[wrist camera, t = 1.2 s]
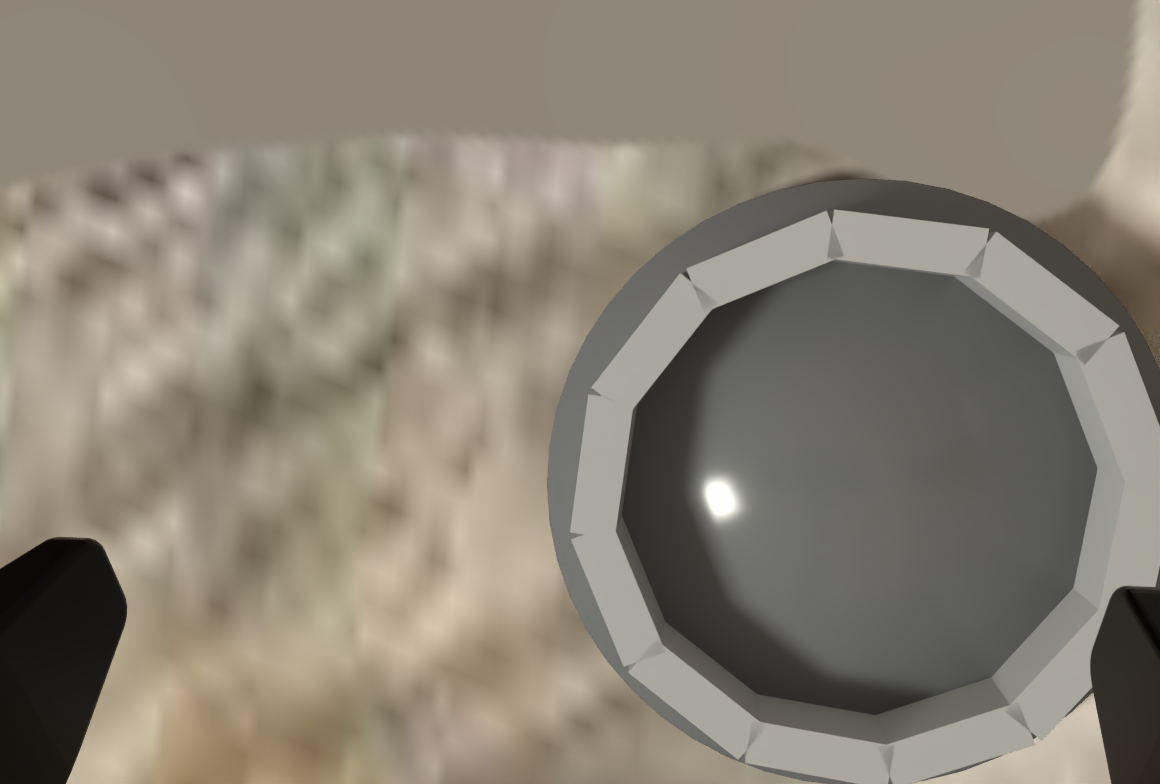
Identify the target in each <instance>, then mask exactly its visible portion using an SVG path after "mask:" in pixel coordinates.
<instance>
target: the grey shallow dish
mask: <svg viewBox="0 0 1160 784" xmlns="http://www.w3.org/2000/svg"><path fill="white" fill-rule="evenodd" d="M547 490H548V504H549V519H550V526H551V531H552V536H553V541H554V546H555V551H556V556H557V560H558V563H559V566H560V569H561V572H562V575H563V578H564V581H565V584H566V587H567V590H568V593H569V595H570V598H571V600H572V602H573V604H574V606H575V608H576V610H577V612H578V614H579V616H580V618H581V620H582V622H583V624H584V626H585V628H586V630H587V631H588V633H589V634H590V636H591V637H592V639H593V640H594V642H595V643H596V645H597V646H598V648H599V649H600V651H601V653H602V654H603V656H604V657H605V659H606V660H607V662H608V663H609V664H610V665H611V666H612V667H613V669H614V670H615V671H616V672H617V673H618V674H619V675H620V677H621V678H622V679H623V680H624V681H625V682H626V684H627V685H628V686H629V687H630V688H631V689H632V690H633V691H634V692H635V693H636V694H637V695H638V696H639V697H640V698H641V699H642V700H644V701H645V702H646V703H647V704H648V705H649V706H650V707H651V708H652V709H654V710H655V711H656V712H657V713H658V714H659V715H660V716H661V717H663V718H664V719H666V720H667V721H669V722H670V723H671V724H673V725H674V726H676V727H677V728H679V729H680V730H681V731H683V732H684V733H686V734H687V735H689V736H690V737H691V738H693V739H695V740H697V741H698V742H700V743H702V744H704V745H706V746H708V747H710V748H712V749H714V750H715V751H717V752H719V753H721V754H723V755H725V756H727V757H729V758H732V759H734V760H737V761H740V762H742V763H745V764H747V765H750V766H753V767H755V768H758V769H760V770H763V771H766V772H770V773H774V774H778V775H782V776H786V777H790V778H794V779H798V780H802V781H810V782H818V783H826V784H911V783H915V782H918V781H924V780H928V779H932V778H936V777H940V776H944V775H948V774H952V773H957V772H961V771H964V770H966V769H969V768H972V767H974V766H977V765H979V764H982V763H985V762H987V761H990V760H993V759H995V758H998V757H1000V756H1002V755H1004V754H1007V753H1010V752H1013V751H1017V750H1020V749H1023V748H1026V747H1029V746H1033V745H1035V743H1034V740H1033V739H1034V738H1036V737H1038V738H1039V739H1040V740H1043V739H1044V738H1045V737H1046V736H1047V735H1048V733H1049V732H1050V731H1051V730H1052V729H1053V728H1054V727H1055V726H1056V725H1057V724H1058V723H1059V722H1060V721H1061V720H1062V719H1063V718H1064V717H1066V716H1067V715H1068V714H1070V713H1071V712H1072V711H1073V710H1074V709H1075V708H1076V707H1077V706H1078V705H1079V704H1080V703H1082V702H1083V701H1084V700H1085V699H1086V698H1087V697H1088V696H1089V695H1090V694H1091V693H1092V692H1093V687H1092V682H1091V675H1090V658H1091V652H1092V648H1093V645H1094V642H1095V640H1096V637H1097V634H1098V631H1099V628H1100V625H1101V623H1102V620H1103V617H1104V614H1105V611H1106V608H1107V606H1108V603H1109V600H1110V598H1111V596H1112V594H1113V592H1114V591H1115V590H1116V589H1117V588H1119V587H1122V586H1143V587H1160V370H1159V368H1158V366H1157V364H1156V362H1155V359H1154V357H1153V355H1152V353H1151V351H1150V349H1149V346H1148V344H1147V342H1146V340H1145V339H1144V337H1143V335H1142V334H1141V332H1140V331H1139V329H1138V328H1137V326H1136V325H1135V323H1134V321H1133V320H1132V318H1131V317H1130V315H1129V314H1128V312H1127V310H1126V309H1125V307H1124V306H1123V305H1122V303H1121V302H1120V301H1119V300H1118V299H1117V298H1116V296H1115V295H1114V294H1113V293H1112V292H1111V291H1110V289H1109V288H1108V287H1107V286H1106V285H1105V284H1104V282H1103V281H1102V280H1101V279H1100V278H1099V277H1098V275H1097V274H1096V273H1095V272H1094V271H1092V270H1091V269H1090V268H1089V267H1088V266H1087V265H1086V264H1085V263H1083V262H1082V261H1081V260H1080V259H1079V258H1078V257H1077V256H1075V255H1074V254H1073V253H1072V252H1071V251H1070V250H1069V249H1067V248H1066V247H1065V246H1064V245H1063V244H1061V243H1060V242H1058V241H1057V240H1055V239H1054V238H1052V237H1051V236H1049V235H1048V234H1046V233H1045V232H1043V231H1042V230H1040V229H1039V228H1037V227H1036V226H1034V225H1033V224H1031V223H1030V222H1028V221H1026V220H1024V219H1022V218H1020V217H1018V216H1016V215H1014V214H1012V213H1010V212H1008V211H1005V210H1003V209H1001V208H999V207H997V206H995V205H993V204H991V203H989V202H986V201H983V200H980V199H977V198H974V197H971V196H967V195H964V194H962V193H958V192H955V191H952V190H949V189H945V188H940V187H934V186H929V185H924V184H918V183H913V182H908V181H896V180H878V179H851V180H838V181H824V182H816V183H812V184H807V185H802V186H797V187H792V188H788V189H783V190H778V191H775V192H772V193H769V194H766V195H763V196H760V197H758V198H755V199H752V200H749V201H746V202H743V203H740V204H738V205H736V206H734V207H731V208H729V209H727V210H725V211H723V212H721V213H719V214H717V215H715V216H713V217H711V218H709V219H707V220H705V221H703V222H701V223H700V224H698V225H697V226H695V227H694V228H692V229H691V230H689V231H688V232H686V233H685V234H683V235H682V236H680V237H679V238H677V239H676V240H674V241H673V242H671V243H670V244H668V245H667V246H666V247H664V248H663V249H662V250H661V251H660V252H659V253H658V254H656V255H655V256H654V257H653V258H652V259H651V260H650V261H648V262H647V263H646V264H645V265H644V266H643V267H642V268H641V269H639V270H638V271H637V272H636V273H635V274H634V275H633V276H632V277H631V279H630V280H629V281H628V282H627V283H626V284H625V285H624V287H623V288H622V289H621V290H620V291H619V292H618V293H617V295H616V296H615V297H614V298H613V299H612V300H611V301H610V303H609V304H608V305H607V307H606V308H605V310H604V311H603V313H602V314H601V316H600V317H599V319H598V320H597V322H596V323H595V325H594V326H593V328H592V329H591V331H590V332H589V334H588V335H587V337H586V339H585V341H584V343H583V345H582V347H581V349H580V351H579V353H578V355H577V357H576V359H575V361H574V363H573V365H572V367H571V369H570V371H569V374H568V377H567V380H566V383H565V386H564V389H563V392H562V395H561V398H560V401H559V404H558V407H557V411H556V416H555V421H554V426H553V431H552V436H551V441H550V447H549V462H548V478H547Z"/></svg>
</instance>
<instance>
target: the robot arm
mask: <svg viewBox="0 0 1160 784" xmlns="http://www.w3.org/2000/svg"><path fill="white" fill-rule="evenodd" d="M126 617H127V603H126V598H125V595H124V593H123V590H122V588H121V586H120V584H119V581H118V579H117V577H116V575H115V572H114V570H113V568H112V565H111V563H110V561H109V559H108V556H107V554H106V552H105V550H104V548H103V546H102V545H101V544H100V543H98V542H97V541H96V540H94V539H91V538H73V537H55V538H51V539H48V540H46V541H44V542H43V543H41V544H39V545H38V546H36V547H35V548H33V549H31V550H30V551H28V552H27V553H25V554H23V555H22V556H20V557H18V558H17V559H15V560H14V561H12V562H10V563H9V564H7V565H6V566H4V567H2V568H1V569H0V784H66V782H67V780H68V778H69V775H70V773H71V771H72V768H73V766H74V763H75V761H76V758H77V756H78V753H79V751H80V748H81V745H82V743H83V740H84V737H85V734H86V732H87V729H88V726H89V723H90V720H91V718H92V715H93V712H94V709H95V707H96V704H97V701H98V698H99V695H100V693H101V690H102V687H103V684H104V682H105V679H106V676H107V673H108V671H109V668H110V665H111V662H112V659H113V657H114V654H115V651H116V648H117V646H118V643H119V640H120V637H121V635H122V632H123V629H124V626H125V622H126ZM1090 675H1091V682H1092V687H1093V692H1094V697H1095V702H1096V708H1097V713H1098V718H1099V723H1100V728H1101V733H1102V738H1103V743H1104V748H1105V754H1106V759H1107V764H1108V769H1109V774H1110V779H1111V784H1160V587H1143V586H1122V587H1119V588H1117V589H1116V590H1115V591H1114V592H1113V594H1112V596H1111V598H1110V600H1109V603H1108V606H1107V608H1106V611H1105V614H1104V617H1103V620H1102V623H1101V625H1100V628H1099V631H1098V634H1097V637H1096V640H1095V642H1094V645H1093V648H1092V652H1091V658H1090Z"/></svg>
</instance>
